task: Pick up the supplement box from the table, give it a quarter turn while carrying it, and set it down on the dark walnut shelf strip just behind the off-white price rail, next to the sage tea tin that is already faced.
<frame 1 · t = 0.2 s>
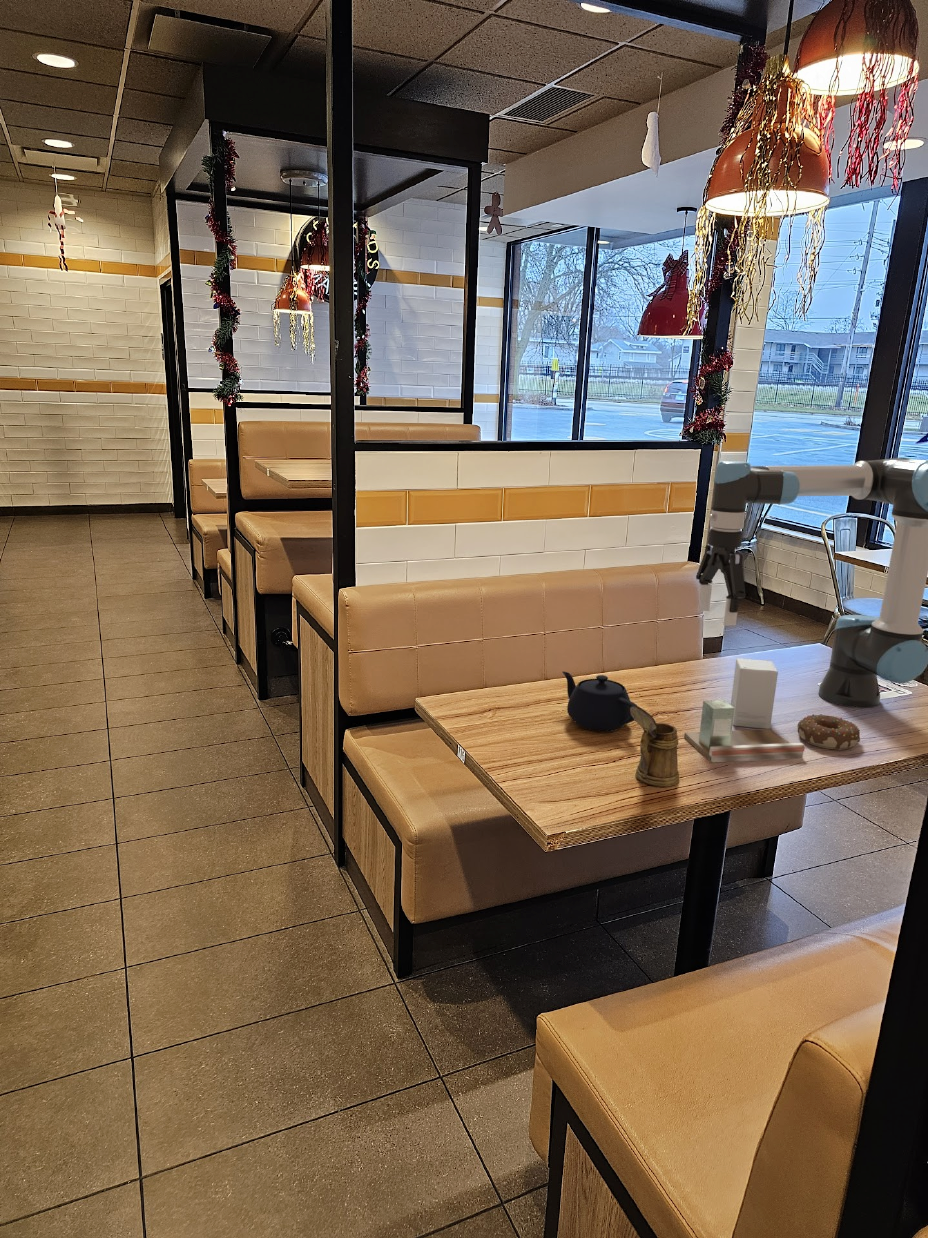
hand: (716, 617, 198), 27 cm above the table, fingers open, 13 cm apart
teapot: (595, 723, 204), on the table
wooden mug: (649, 781, 173), on the table
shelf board: (741, 747, 192), on the table
tea tin: (713, 745, 189), point 1 cm above the table, touching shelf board
donut: (826, 741, 198), on the table
supplement box: (749, 722, 208), on the table
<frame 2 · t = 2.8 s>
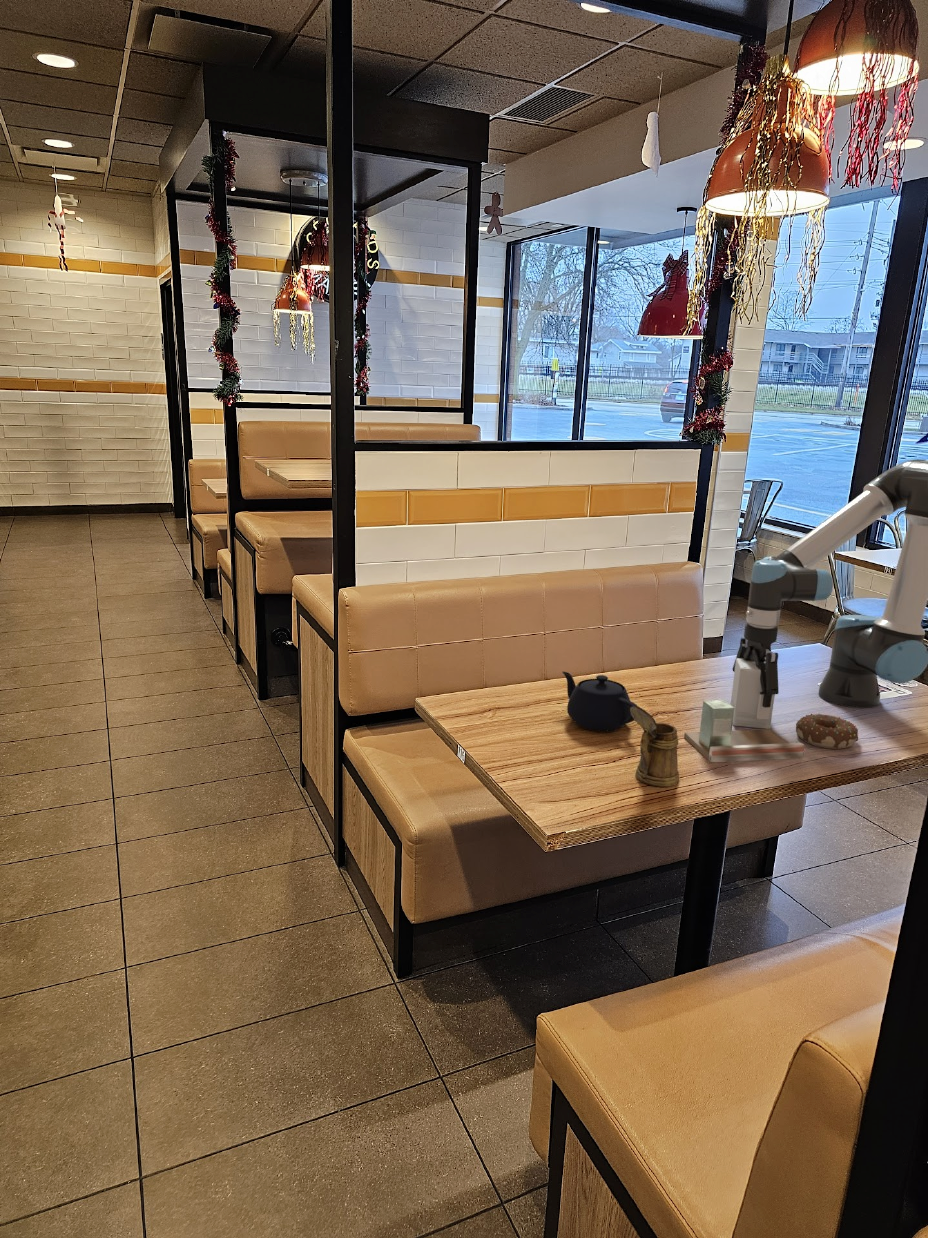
hand: (750, 710, 207), 3 cm above the table, fingers closed on supplement box, 11 cm apart
supplement box: (749, 722, 208), on the table, touching gripper
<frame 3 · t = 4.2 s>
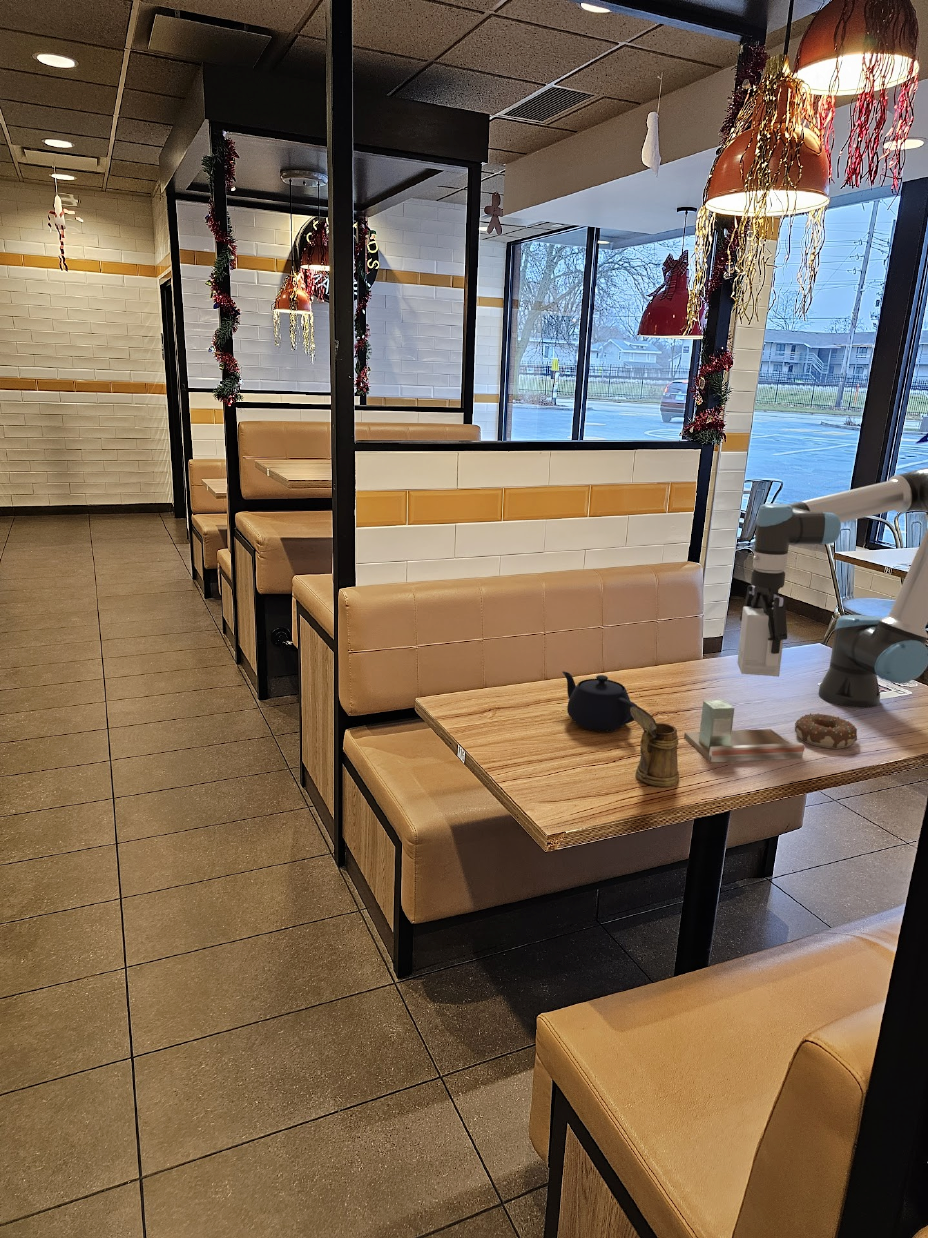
hand: (759, 658, 203), 16 cm above the table, fingers closed on supplement box, 11 cm apart
supplement box: (757, 671, 204), point 13 cm above the table, touching gripper
everything else where it was.
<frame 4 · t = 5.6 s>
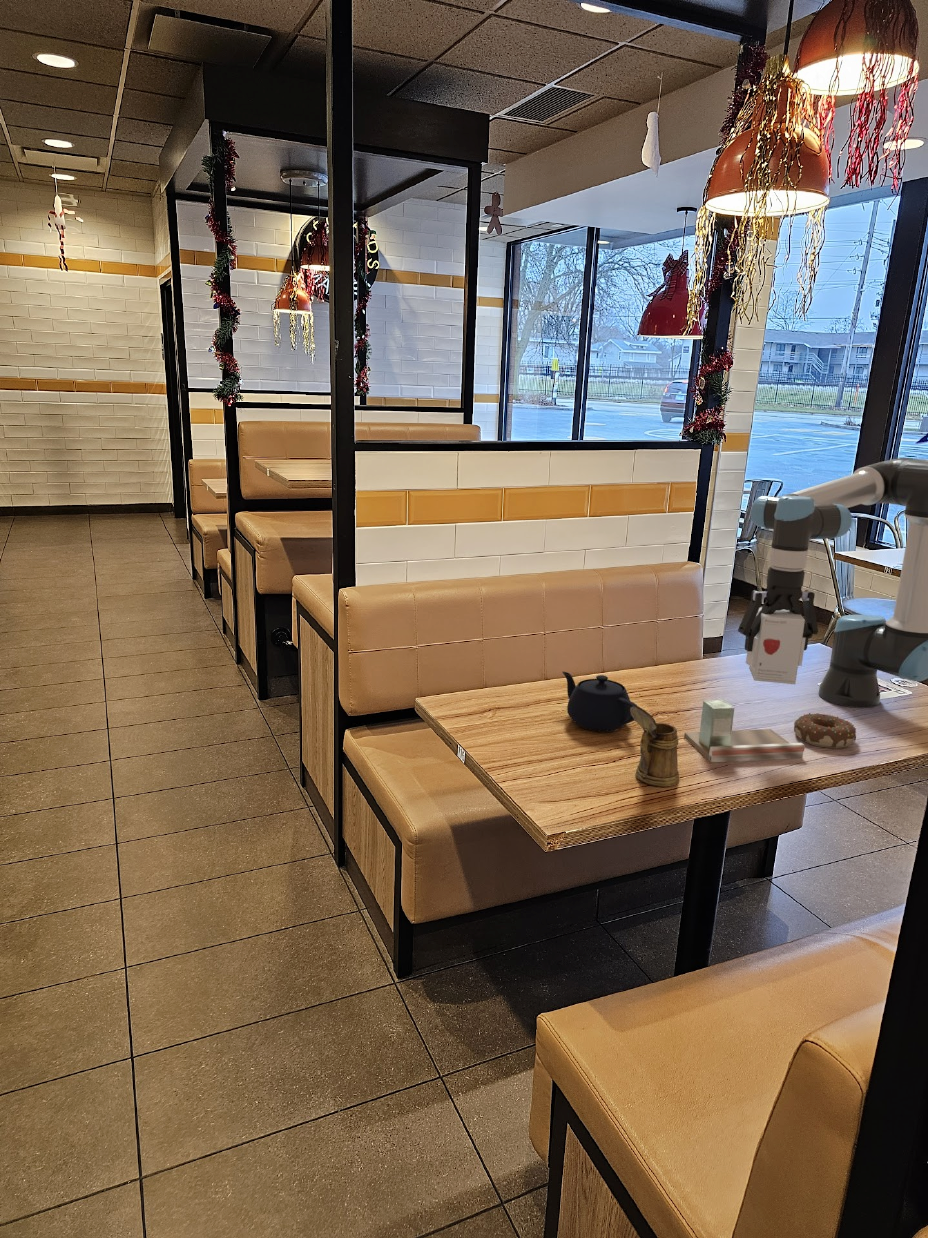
hand: (773, 664, 187), 20 cm above the table, fingers closed on supplement box, 11 cm apart
supplement box: (771, 677, 188), point 17 cm above the table, touching gripper
everything else where it was.
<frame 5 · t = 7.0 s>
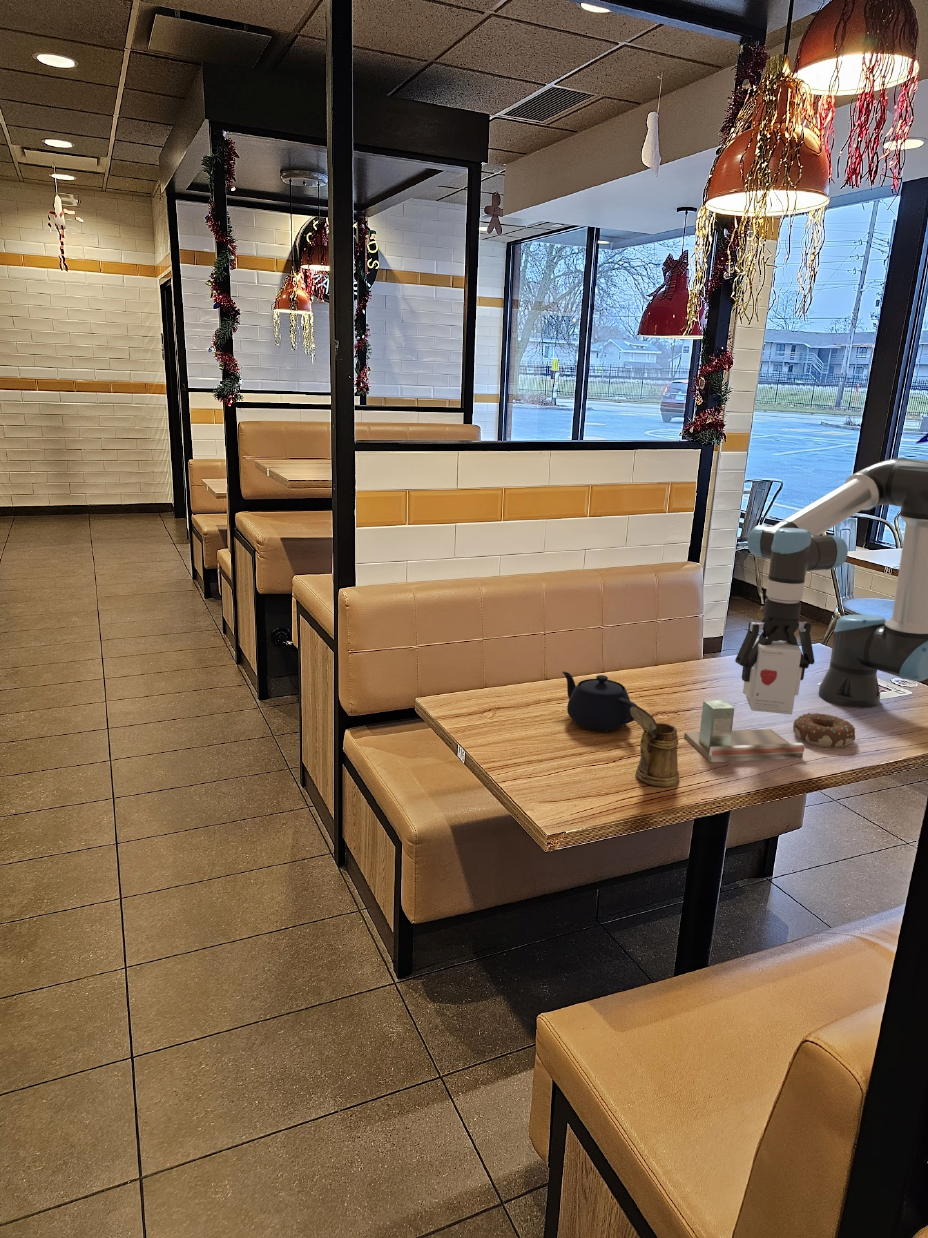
hand: (770, 694, 188), 13 cm above the table, fingers closed on supplement box, 11 cm apart
supplement box: (768, 707, 189), point 10 cm above the table, touching gripper
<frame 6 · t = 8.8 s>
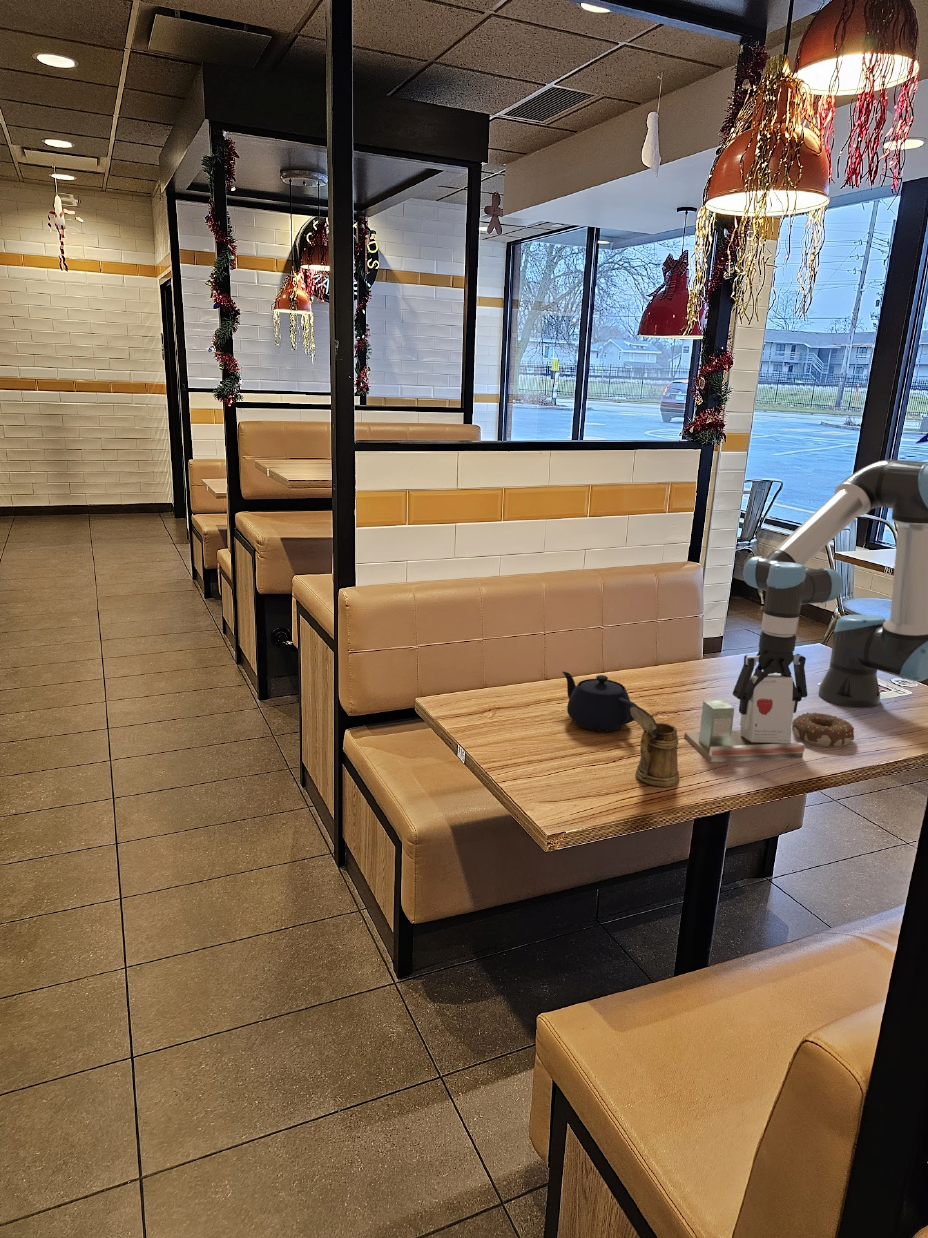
hand: (765, 726, 190), 5 cm above the table, fingers closed on supplement box, 10 cm apart
supplement box: (765, 740, 191), point 2 cm above the table, touching gripper, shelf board
when the fingers open (5 cm above the table, at t = 8.9 s): supplement box stays where it is, resting on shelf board.
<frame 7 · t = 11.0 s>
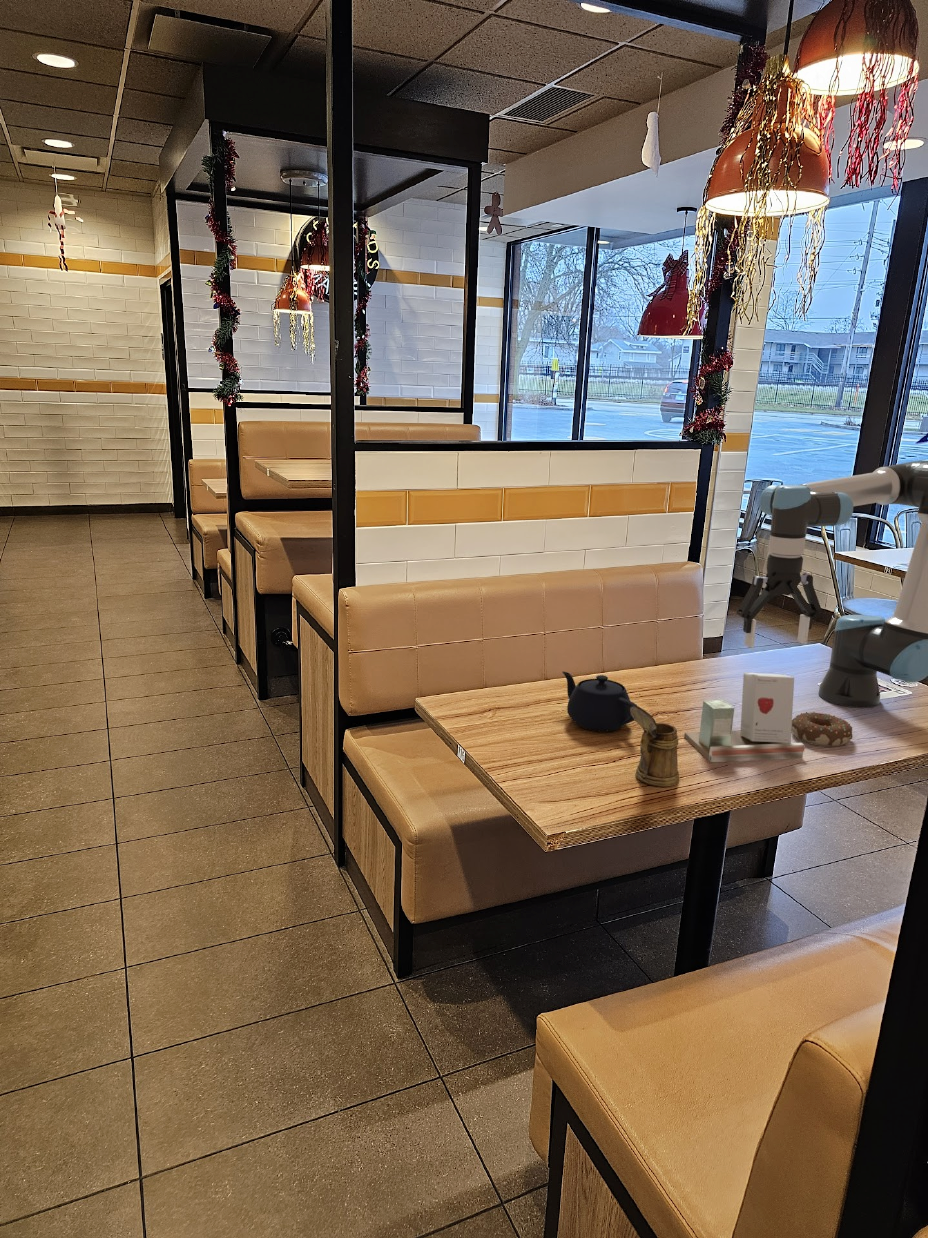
hand: (775, 644, 194), 23 cm above the table, fingers open, 13 cm apart
supplement box: (765, 740, 191), point 2 cm above the table, touching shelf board
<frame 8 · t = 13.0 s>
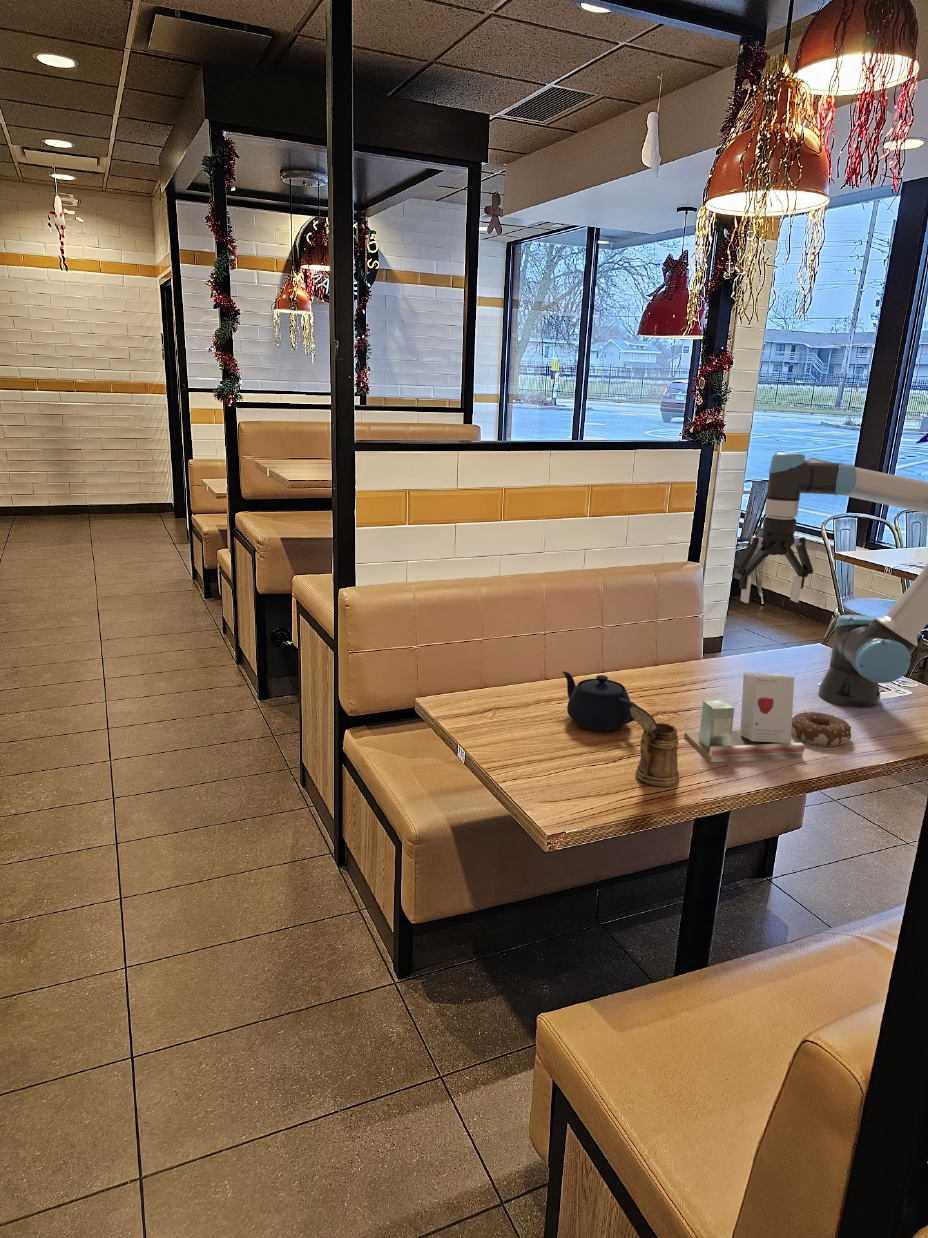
hand: (769, 601, 209), 29 cm above the table, fingers open, 13 cm apart
at the end: supplement box inside the target area (1.2 cm from its centre), point 2.1 cm above the table; supplement box tilted 14°; the gripper is holding nothing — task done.
